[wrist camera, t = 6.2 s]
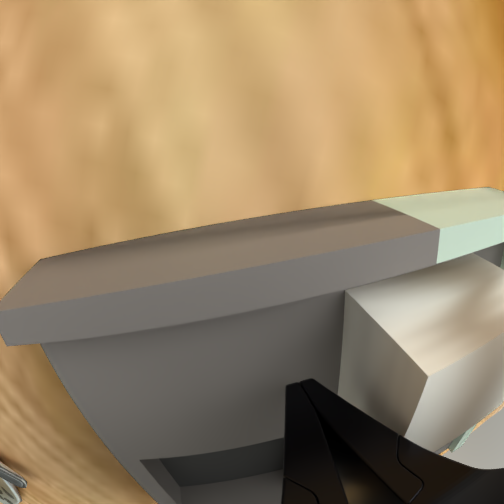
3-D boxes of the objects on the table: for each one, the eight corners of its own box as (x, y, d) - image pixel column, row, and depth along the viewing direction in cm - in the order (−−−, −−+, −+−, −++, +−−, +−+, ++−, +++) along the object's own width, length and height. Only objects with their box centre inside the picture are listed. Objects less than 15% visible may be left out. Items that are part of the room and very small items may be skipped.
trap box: (489, 187, 11) (553, 208, 8) (433, 410, 17) (462, 445, 14) (40, 259, 8) (-19, 322, 5) (169, 490, 14) (174, 541, 11)
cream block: (472, 253, 10) (549, 297, 6) (448, 352, 11) (501, 403, 8) (345, 290, 9) (428, 376, 5) (336, 400, 11) (382, 479, 7)
